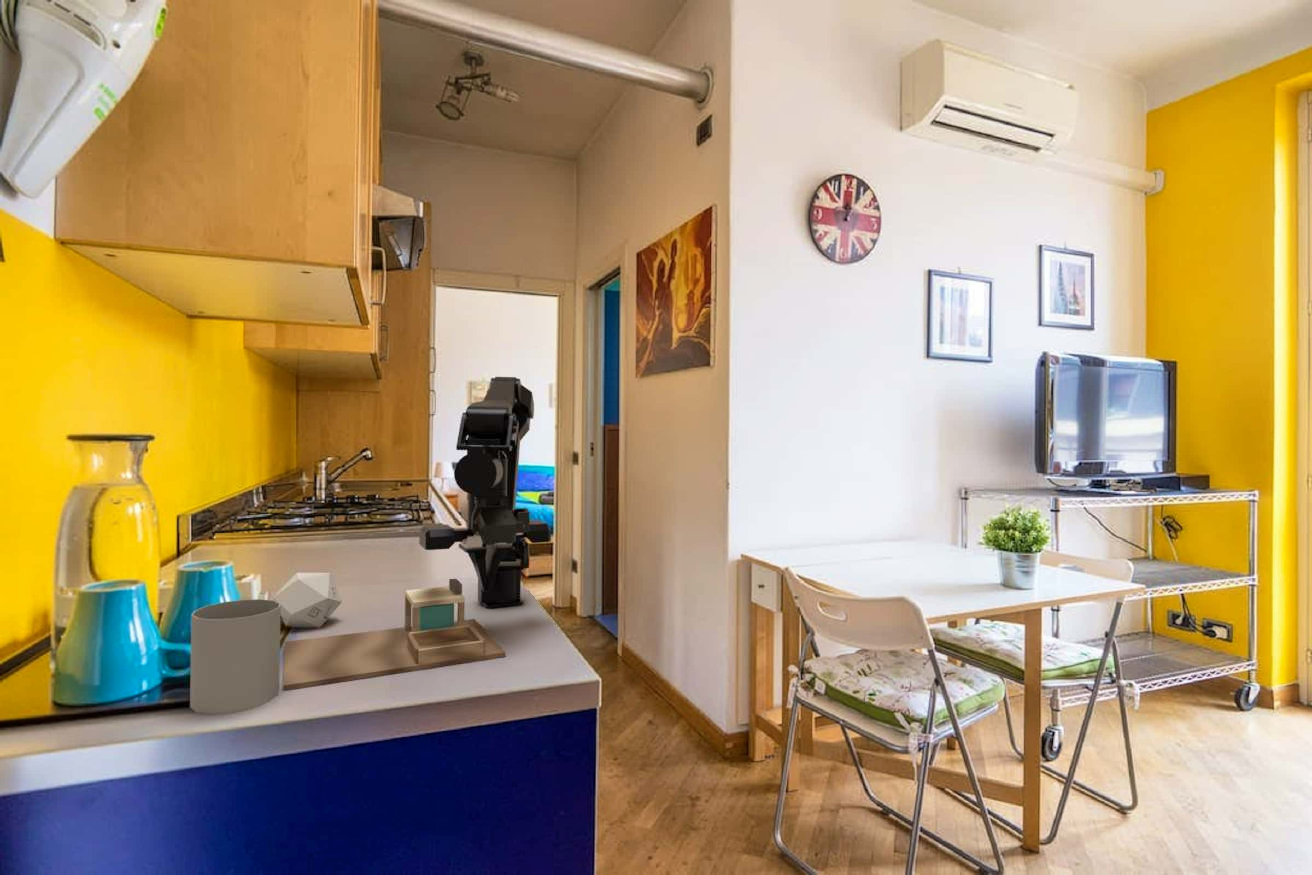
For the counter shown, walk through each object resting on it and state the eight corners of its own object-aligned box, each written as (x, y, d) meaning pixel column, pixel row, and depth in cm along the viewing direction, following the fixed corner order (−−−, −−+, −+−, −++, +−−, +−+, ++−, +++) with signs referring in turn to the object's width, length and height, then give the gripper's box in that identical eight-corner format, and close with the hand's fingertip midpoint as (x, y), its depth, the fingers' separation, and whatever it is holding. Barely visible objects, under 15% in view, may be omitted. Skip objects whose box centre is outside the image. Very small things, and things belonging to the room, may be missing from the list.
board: (474, 622, 103) (474, 607, 103) (505, 656, 88) (505, 638, 88) (284, 646, 90) (285, 628, 90) (283, 690, 75) (283, 669, 75)
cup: (296, 687, 76) (297, 602, 76) (237, 717, 68) (238, 622, 68) (235, 680, 78) (236, 597, 78) (170, 708, 70) (172, 615, 70)
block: (446, 626, 98) (446, 597, 98) (452, 635, 94) (453, 604, 94) (415, 630, 96) (415, 600, 96) (420, 639, 92) (420, 607, 92)
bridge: (452, 622, 100) (453, 576, 100) (464, 636, 94) (464, 586, 94) (404, 628, 97) (405, 580, 97) (412, 643, 90) (413, 591, 90)
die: (293, 641, 94) (339, 584, 97) (249, 608, 96) (295, 553, 98) (320, 644, 102) (361, 591, 105) (278, 613, 103) (320, 562, 106)
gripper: (434, 495, 87) (432, 611, 87) (565, 491, 96) (562, 596, 96) (419, 488, 97) (417, 592, 97) (539, 485, 106) (537, 580, 106)
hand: (485, 590), depth 99 cm, fingers closed
